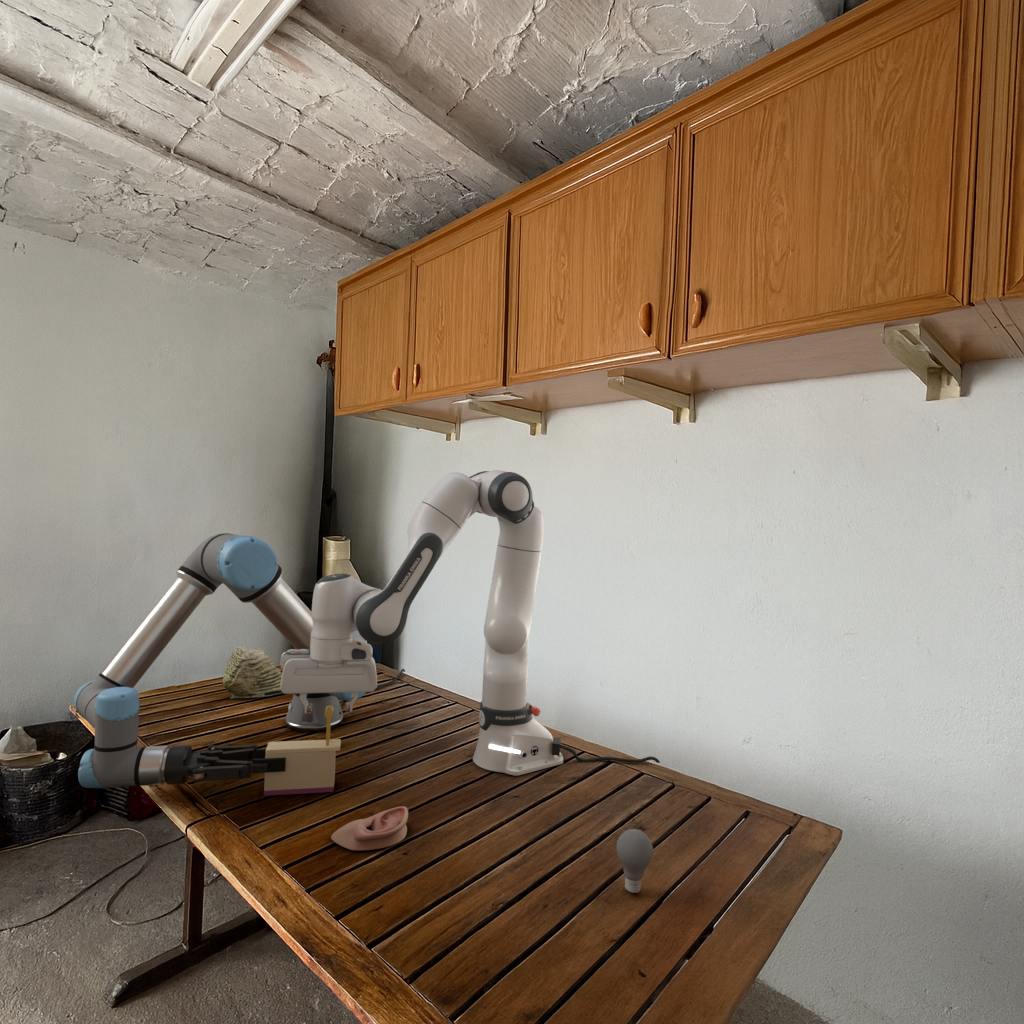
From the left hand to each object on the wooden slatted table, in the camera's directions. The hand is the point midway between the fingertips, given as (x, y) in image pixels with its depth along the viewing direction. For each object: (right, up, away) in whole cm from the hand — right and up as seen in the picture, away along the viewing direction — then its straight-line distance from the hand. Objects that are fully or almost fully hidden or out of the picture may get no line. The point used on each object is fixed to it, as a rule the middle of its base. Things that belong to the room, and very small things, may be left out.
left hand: (286, 759), depth 136 cm
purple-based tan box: (+3, -7, +1) cm, 7 cm away
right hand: (+9, +10, +2) cm, 13 cm away
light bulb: (+69, -10, -30) cm, 76 cm away
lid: (+4, +2, +1) cm, 4 cm away
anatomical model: (+22, -8, -17) cm, 29 cm away
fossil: (-32, -4, +62) cm, 70 cm away
